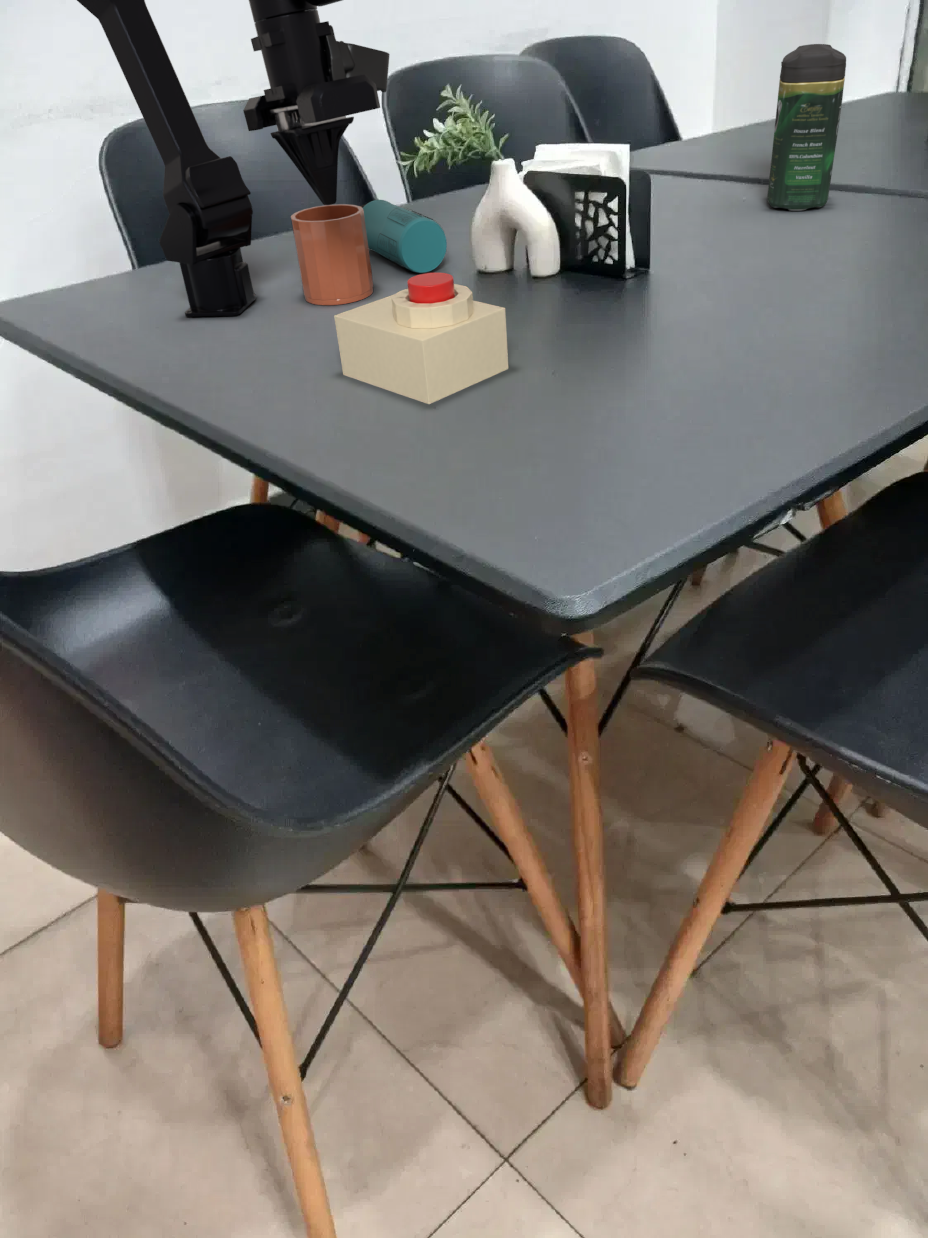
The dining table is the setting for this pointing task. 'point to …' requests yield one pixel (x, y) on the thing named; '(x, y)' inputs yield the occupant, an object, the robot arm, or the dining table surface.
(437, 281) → the power button
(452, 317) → the red push button box
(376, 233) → the beverage bottle
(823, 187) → the coffee jar
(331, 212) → the terracotta cup
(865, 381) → the dining table surface
